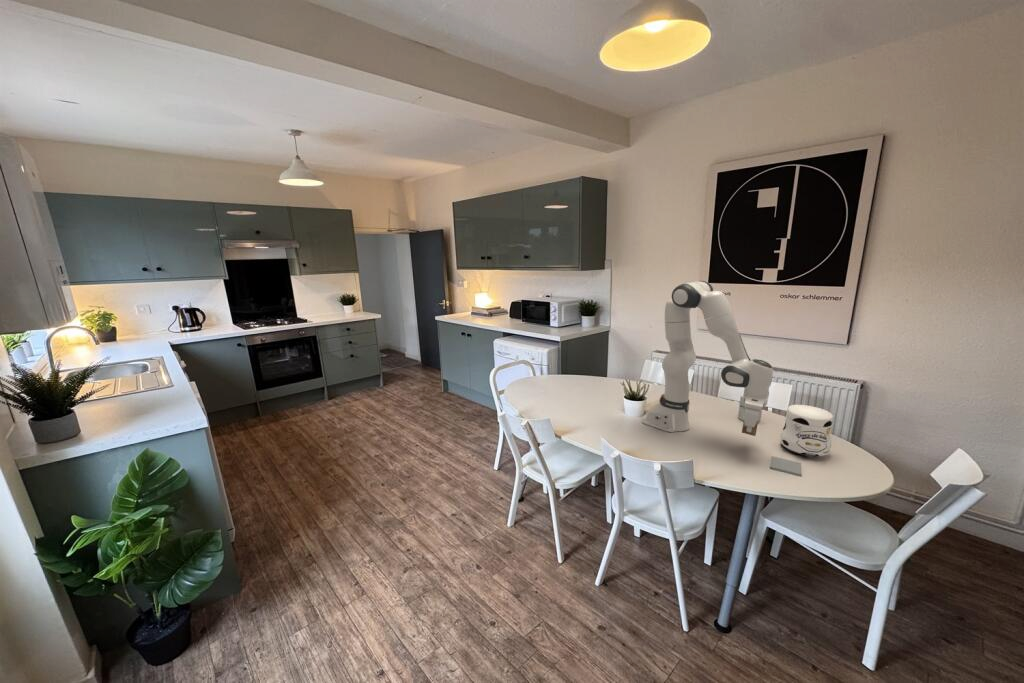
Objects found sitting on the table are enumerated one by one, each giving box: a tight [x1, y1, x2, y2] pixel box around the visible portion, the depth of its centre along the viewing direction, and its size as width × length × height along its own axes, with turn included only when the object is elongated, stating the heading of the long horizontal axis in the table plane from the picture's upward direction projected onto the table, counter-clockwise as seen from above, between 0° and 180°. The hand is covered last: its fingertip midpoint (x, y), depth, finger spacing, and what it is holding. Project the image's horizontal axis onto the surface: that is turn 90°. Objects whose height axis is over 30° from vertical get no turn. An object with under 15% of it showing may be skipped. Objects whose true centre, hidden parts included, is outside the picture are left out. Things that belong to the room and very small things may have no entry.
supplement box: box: [737, 395, 763, 423], centre depth 194 cm, size 7×7×13 cm
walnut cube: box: [741, 421, 759, 437], centre depth 163 cm, size 5×5×5 cm
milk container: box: [780, 404, 834, 458], centre depth 164 cm, size 17×17×18 cm
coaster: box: [769, 455, 803, 477], centre depth 153 cm, size 10×10×1 cm
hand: (749, 428), depth 163 cm, fingers closed on walnut cube, 5 cm apart
